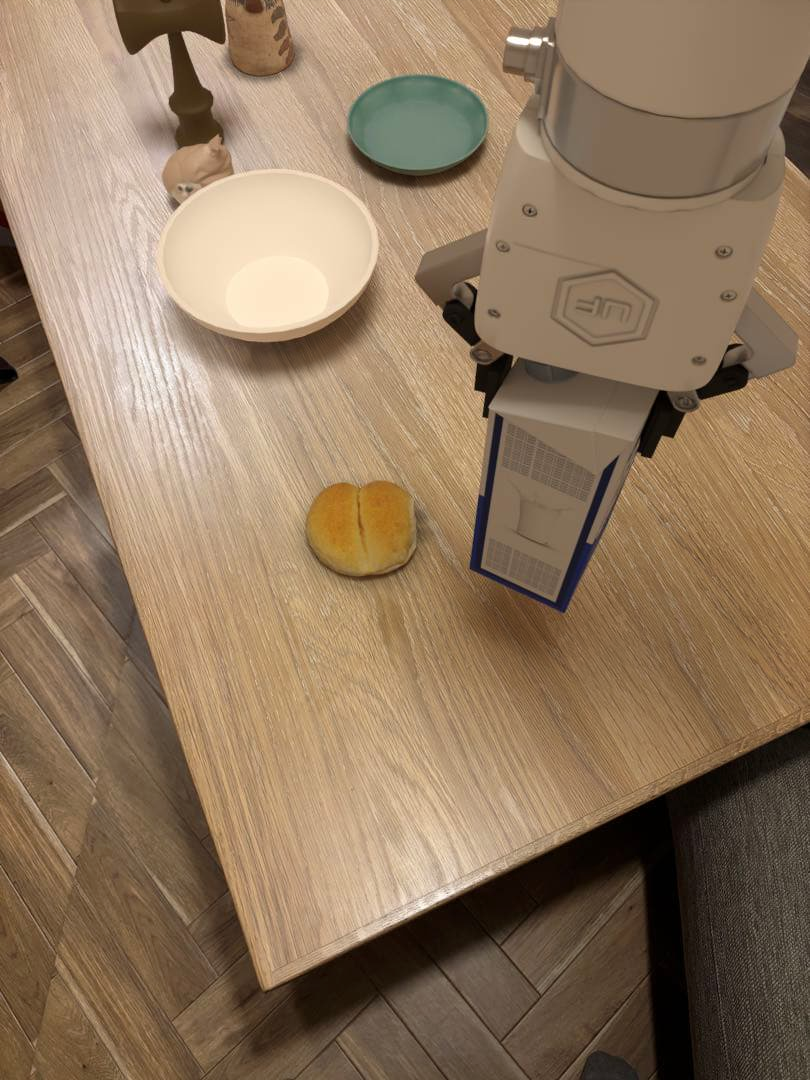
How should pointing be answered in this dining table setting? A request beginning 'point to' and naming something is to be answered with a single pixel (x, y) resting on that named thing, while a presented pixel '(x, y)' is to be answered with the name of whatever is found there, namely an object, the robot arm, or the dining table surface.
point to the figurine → (258, 36)
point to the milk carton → (553, 475)
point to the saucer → (418, 123)
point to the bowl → (268, 254)
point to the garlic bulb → (196, 168)
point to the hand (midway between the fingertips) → (571, 413)
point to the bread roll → (362, 527)
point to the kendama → (177, 55)
